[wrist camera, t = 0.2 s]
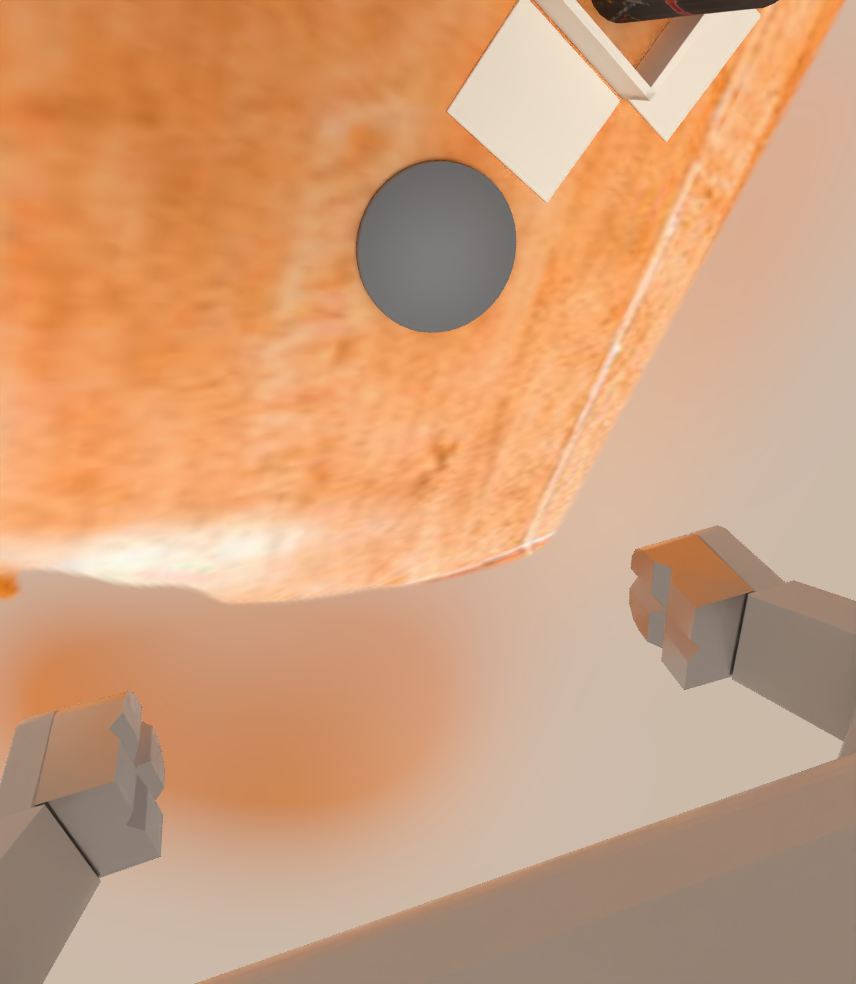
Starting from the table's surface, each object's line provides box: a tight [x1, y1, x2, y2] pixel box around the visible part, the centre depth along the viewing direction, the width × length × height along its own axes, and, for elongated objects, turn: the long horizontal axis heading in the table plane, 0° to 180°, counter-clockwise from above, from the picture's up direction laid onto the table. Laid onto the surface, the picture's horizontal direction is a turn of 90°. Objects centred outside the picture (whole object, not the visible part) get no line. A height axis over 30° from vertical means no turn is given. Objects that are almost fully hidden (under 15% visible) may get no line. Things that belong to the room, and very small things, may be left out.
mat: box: [356, 161, 516, 333], centre depth 56 cm, size 13×13×1 cm
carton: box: [446, 0, 761, 203], centre depth 46 cm, size 20×22×13 cm
